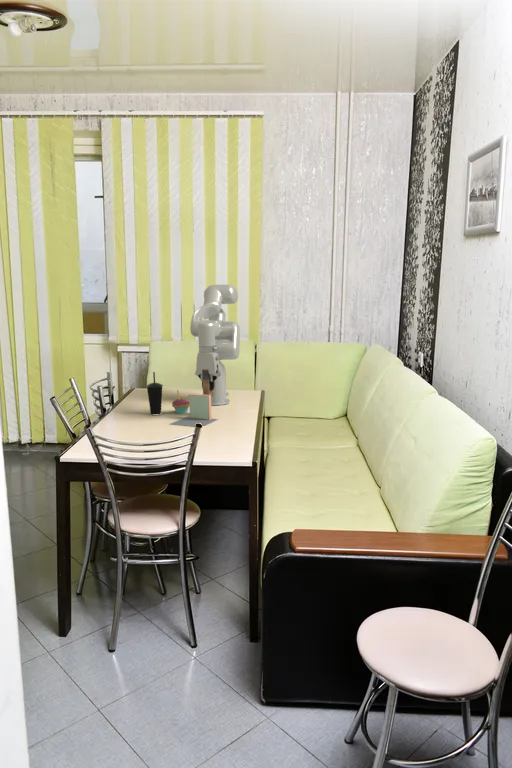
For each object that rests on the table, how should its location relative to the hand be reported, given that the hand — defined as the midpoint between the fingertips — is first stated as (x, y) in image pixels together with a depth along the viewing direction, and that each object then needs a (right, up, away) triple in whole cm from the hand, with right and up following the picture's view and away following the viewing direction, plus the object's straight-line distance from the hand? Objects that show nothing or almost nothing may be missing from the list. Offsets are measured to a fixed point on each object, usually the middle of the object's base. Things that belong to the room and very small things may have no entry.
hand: (208, 389), depth 284 cm
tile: (-3, -13, -5) cm, 14 cm away
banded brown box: (0, -4, +1) cm, 4 cm away
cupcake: (-13, -12, +9) cm, 20 cm away
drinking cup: (-25, -12, +9) cm, 29 cm away
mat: (-6, -15, -10) cm, 19 cm away
